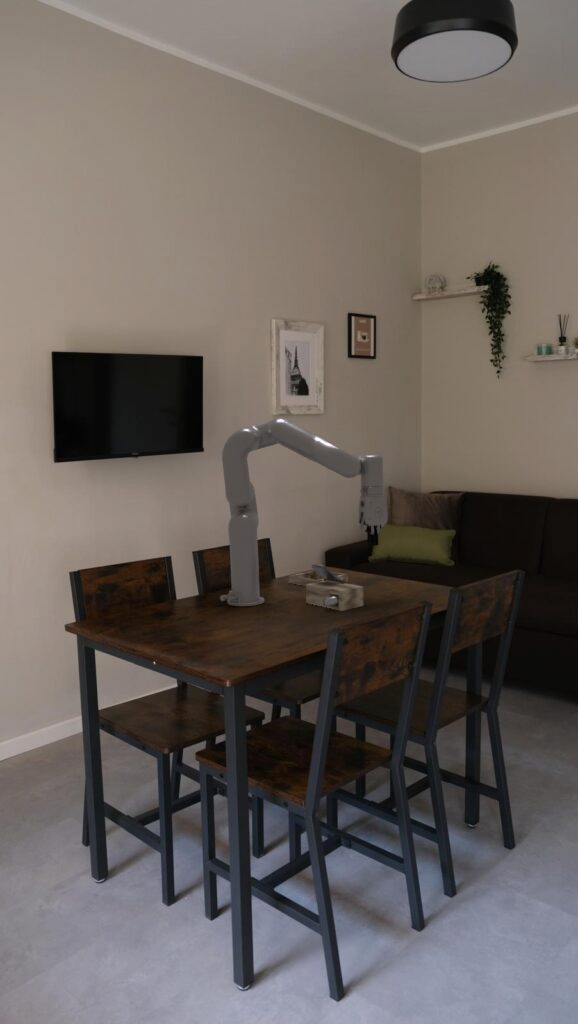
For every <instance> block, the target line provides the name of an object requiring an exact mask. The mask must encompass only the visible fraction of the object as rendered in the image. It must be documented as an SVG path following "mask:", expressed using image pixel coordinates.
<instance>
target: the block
mask: <svg viewBox="0 0 578 1024" xmlns="http://www.w3.org/2000/svg"><path fill="white" fill-rule="evenodd" d="M336 595H339V604H336V605H332V606H327V608H326V607H325V606H324V605H323V599H324V598H328V597H332V596H336ZM305 600H306V601H305V602H306V604H307V603H308V605H312V604H313V605H312V606H316V605H317V607H321V606H322V608H326V609H330V608H331V610H336V611H340V612H344V611H347V610H352V609H356V608H359V607H363V606H364V586H362V585H357V584H353V583H352V584H351V583H347V582H346V583H345V580H342V581H341V583H338V582H333V581H327V580H326V579H324V581H320V582H316V583H311V584H306V587H305Z"/></svg>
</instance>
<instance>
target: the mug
mask: <svg viewBox="0 0 578 1024" xmlns="http://www.w3.org/2000/svg"><path fill="white" fill-rule="evenodd" d="M314 565H318V566H324V567H326V566H325V565H324V564H321V563H315V564H314ZM310 571H311V573H310V579H314V580H319V579H324V578H323V577H322V576H321V575H320V574H319V573H318V572H317V571H316V570H315V569H314V568H312V567H311V570H310Z"/></svg>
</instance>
